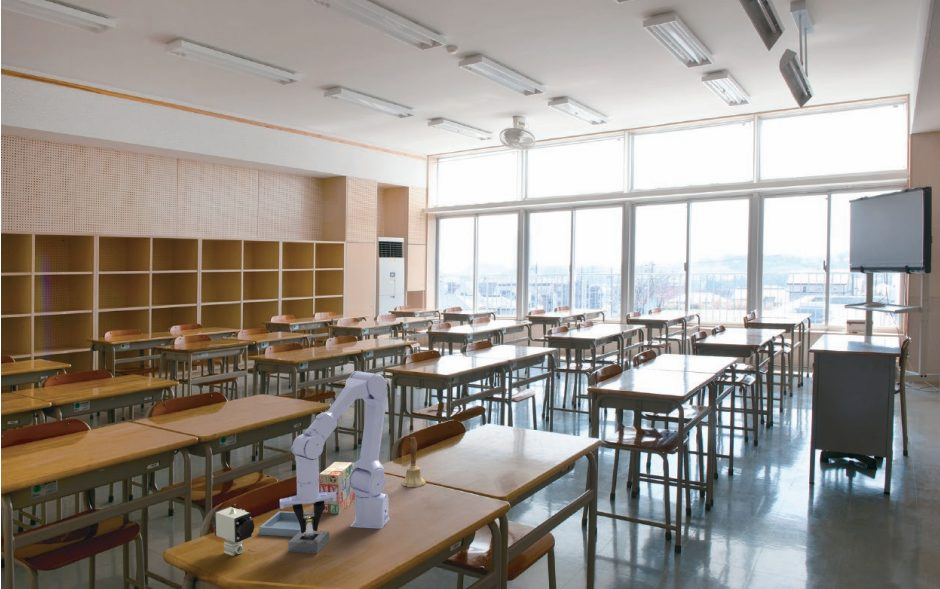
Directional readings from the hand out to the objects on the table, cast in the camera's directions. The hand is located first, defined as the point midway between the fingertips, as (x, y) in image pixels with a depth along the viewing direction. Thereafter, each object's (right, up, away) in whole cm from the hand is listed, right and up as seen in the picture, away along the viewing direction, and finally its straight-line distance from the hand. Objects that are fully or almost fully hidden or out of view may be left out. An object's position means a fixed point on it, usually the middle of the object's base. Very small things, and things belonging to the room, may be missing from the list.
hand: (309, 530), depth 173 cm
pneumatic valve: (-19, -5, -2) cm, 20 cm away
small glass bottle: (0, -3, 0) cm, 3 cm away
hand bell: (+23, -2, +51) cm, 56 cm away
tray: (-9, -4, +13) cm, 16 cm away
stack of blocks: (+2, -3, +35) cm, 35 cm away
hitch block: (0, -5, 0) cm, 5 cm away
